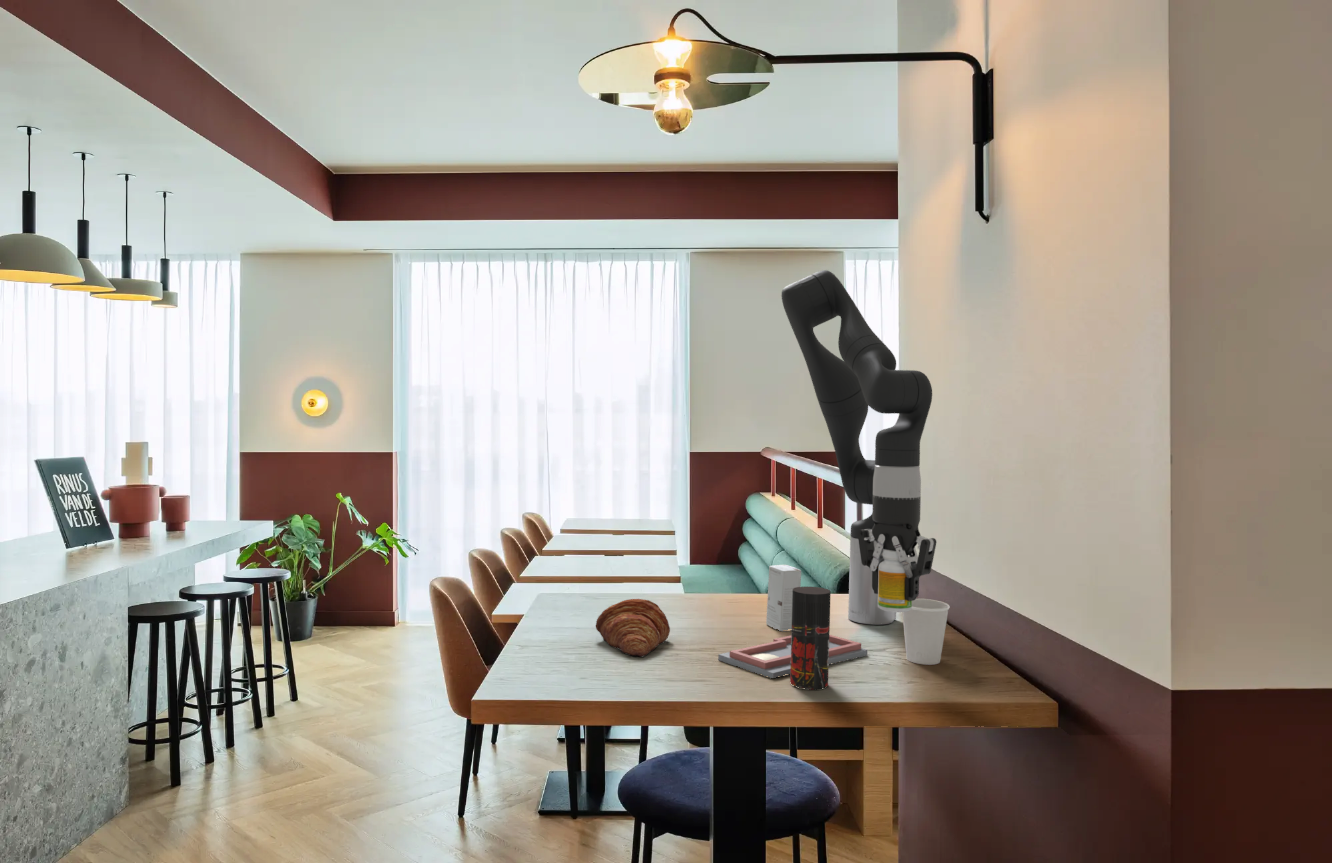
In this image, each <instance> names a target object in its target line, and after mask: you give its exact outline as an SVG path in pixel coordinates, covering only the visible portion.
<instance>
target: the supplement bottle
mask: <svg viewBox="0 0 1332 863" xmlns="http://www.w3.org/2000/svg"><path fill="white" fill-rule="evenodd" d="M907 557H908V558H909V555H907ZM883 558H884V561H883V562H881V563H880V564H879V567H878V608H880V609H881V610H884V611H888V612H896V613H902V612H907V611H910V610H911V608H912V601H907V600H905V578H906V577H907V576H906V574H905V571H904V567H903V565H902V564H901V563H900V561H899V558H898V555H897V552H896V551H892V550H886V549H883Z"/></svg>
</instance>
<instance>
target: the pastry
mask: <svg viewBox="0 0 1332 863" xmlns="http://www.w3.org/2000/svg"><path fill="white" fill-rule="evenodd" d="M595 629H596V631H597V632H598V633H599V634H600V635H601V638H602V639H603V641H605V642H606V643H607V644H608V645H609V646H610V647H612V648H615V649H618V650H620V651H621V653H624V654H625V655H629V656H630V657H640V658H644V657H646V656H647V655H648V654H650V653H651V652H653V651H654V650H655V649H657V647H658V646H659V645H662V644H663V643H665V641H666V640H667V639H668V638H669V635H670V632H671V627H670V624H669V621H668V618H667V616H666V613H664V611H663V610H662V609H661V608H660V607H659V605H658V603H654V602H653V601H652V600H649V599H643V598H630V599H625V600H622V601H620V602H617V603H614V604H611V606H608V607H607V608H606V609H604V610H603V611H602V612H601V613H600V614H599V615H598V617H597V619H596V623H595Z"/></svg>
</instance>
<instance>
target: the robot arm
mask: <svg viewBox="0 0 1332 863" xmlns="http://www.w3.org/2000/svg"><path fill="white" fill-rule="evenodd" d="M781 302H782V305H783V309H784V311H785V315H786V317H787V320H788V322H789V324H790V327H791V329H792V332H793V334H794V336H795V338H796V341H797V344H798V346H799V349H800V350H801V353H802V356H803V358H804V361H805V363H806V366H807V370H808V373H809V376H810V379H811V382H812V386H813V390H814V391H815V392H814V393H815V396H816V399H817V402H818V405H819V408H820V410H821V413H822V416H823V418H824V421H825V423H826V425H827V429H828V433H829V436H830V438H831V442H832V444H833V445H832V446H833V449H834V452H835V456H836V462H837V466H838V470H839V475H840V480H841V482H842V486H843V489H844V493H845V494H846V496H847V498H848V499H849V500H850V501H851V502H854V503H857V504H863V505H871V506H872V512H871V514H870V516H868V517H866V518H863V519H860V520H856V521H854V522H853V523H851V526H850V542H849V577H848V580H849V582H848V589H849V590H848V607H847V608H848V610H847V612H848V615H847V617H848V619H849V620H850V621H851V622H855V623H859V624H864V625H874V626H875V625H888V624H889V625H890V624H892V623H894V620H897V612H888V611H884V610H881V609H880V608H878V567H879V564H880V563H881V562H883V561H884V558H883V549H886V550H892V551H896V552H897V555H898V558H899V561H900V563H901V564H902V565H903V567H904V571H905V574H906V576H907V577H906V578H905V600H907V601H913V600H915V599H917V598H918V597H919V593H920V592H919V591H920V578H921V577H922V576H926V575H929V574H931V573H932V568H933V567H932V566H933V563H934V562H933V561H934V556H935V552H936V547H937V539H936V538H934V537H930V538H928V537H925V536H922V535H921V533H920V530H919V525H920V522H921V503H922V502H921V498H922V496H921V493H922V489H921V488H922V485H921V484H922V478H921V477H922V476H921V471H920V468H921V466H920V462H921V458H920V457H921V439H922V436H923V433H924V429H925V427H926V423H927V422H926V421H927V419H928V415H929V412H930V409H931V405H932V400H933V386H932V384H931V381H930V380H929V378H928V376H927V375H926V374H925V373H924V372H922V371H920V370H914V369H913V370H910V369H909V370H908V369H906V370H905V369H896V368H897V360H896V357H895V355H894V353H893V351H891V349H889V347H888V346H887V345H886V344H885V343H884V341H882V340H881V339H880V337H878V335H876V333H875V332H874V331H873V329H871V327H870V326H869V324H868V323H867V321H866V319H865V318H864V317H863V315H862V313H861V311H860V309H859V308H858V306H857V305H856V303H855V302H854V300H853V299H852V297H851V296H850V294H849V292H848V291H847V290H846V288H845V286H844V285H843V284H842V282H841V280H840V279H839V278H838V277H837V276H836V275H835V274H834V273H833V272H832V271H830V270H828V269H825V270H823V269H822V270H820V271H819V270H818V271H816V272H814V273H811V274H810V275H808V276H806V277H803V278H800V279H799V280H797V281H794V282H792V283H790V284H788V285H786V286H785V287H783V289H782V290H781ZM837 317H840V327H839V334H838V342H837V343H838V351H839V354H840V357H841V358H840V357H838V356H837V355H835V354H834V353H832V352H831V351H830V350H828V349H827V348H826V347H825V346H824V345H823V344H822V343H821V342H820V341H819V340H818V338H817V337H816V334H815V332H814V328H815V327H818V326H820V325H821V324H824V323H826V322H828V321H830V320H833V319H835V318H837ZM869 408H871V409H872V410H874V411H875V412H877V413H880V414H884V415H885V414H886V415H887V414H888V415H889V414H891V415H892V414H898V418H897V420H896V422H895V424H894V425H893V426H891V427H888V428H884V429H881V430H879V431H878V432H877V433H876V435H875V440H874V441H875V443H874V444H875V445H874V446H875V448H874V449H875V450H874V453H875V454H874V456H875V457H874V460H873V459H866V458H865V457H864V455H863V453H862V450H861V447H860V435H861V433H862V429H863V427H864V425H865V422H866V419H867V416H868V412H869ZM917 545H918V546H917ZM916 546H917V549H916ZM917 550H919V552H918V553H917ZM907 555H908V557H907Z"/></svg>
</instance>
